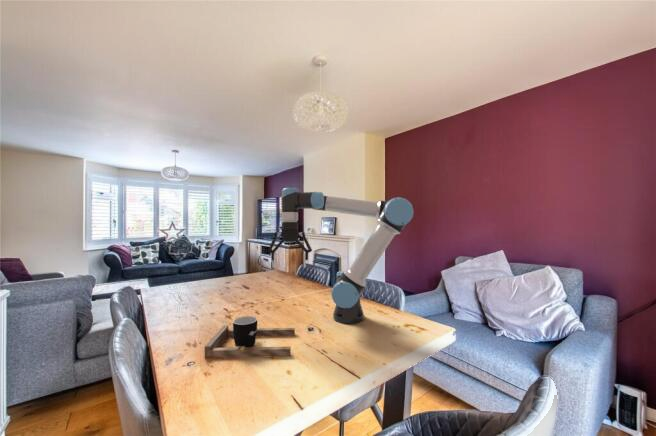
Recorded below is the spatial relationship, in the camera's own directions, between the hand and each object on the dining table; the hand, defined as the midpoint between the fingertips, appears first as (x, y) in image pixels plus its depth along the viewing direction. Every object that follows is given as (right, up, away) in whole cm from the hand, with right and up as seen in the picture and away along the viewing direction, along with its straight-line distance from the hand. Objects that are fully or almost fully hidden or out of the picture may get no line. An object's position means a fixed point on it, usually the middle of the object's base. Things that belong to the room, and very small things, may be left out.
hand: (290, 267), depth 124 cm
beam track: (-11, -26, -20) cm, 35 cm away
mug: (-14, -27, -20) cm, 36 cm away
